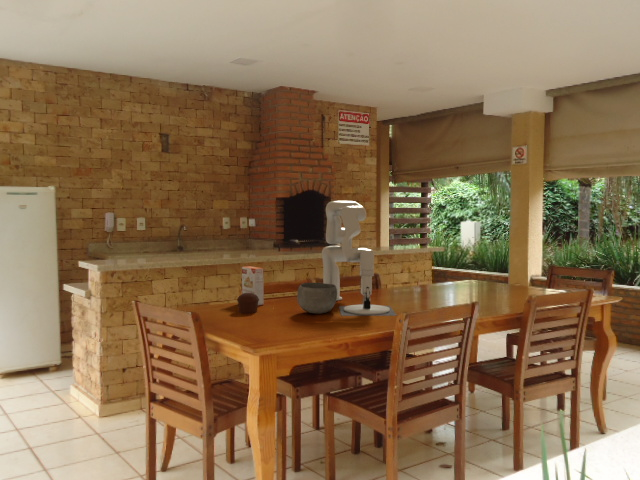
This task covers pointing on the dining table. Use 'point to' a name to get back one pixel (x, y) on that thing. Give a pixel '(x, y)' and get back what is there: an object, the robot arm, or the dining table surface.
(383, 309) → the lid
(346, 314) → the mat
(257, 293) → the cracker box
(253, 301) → the muffin
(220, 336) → the dining table surface
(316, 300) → the bowl
